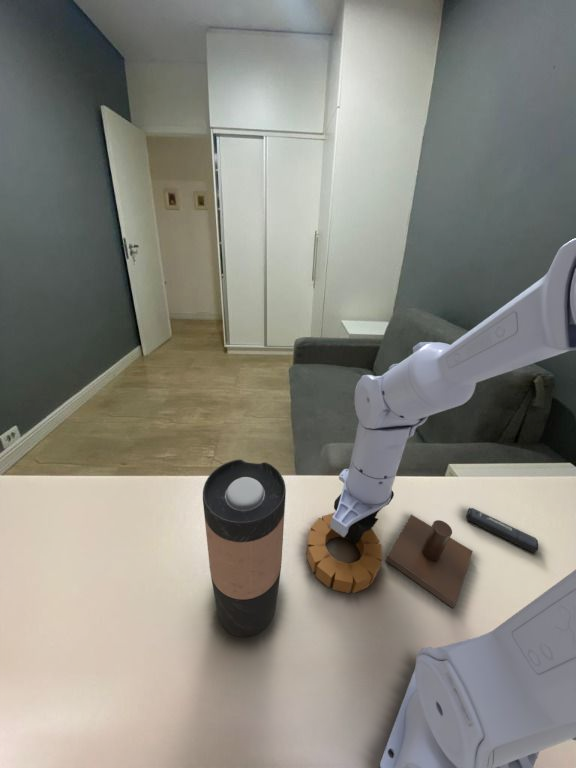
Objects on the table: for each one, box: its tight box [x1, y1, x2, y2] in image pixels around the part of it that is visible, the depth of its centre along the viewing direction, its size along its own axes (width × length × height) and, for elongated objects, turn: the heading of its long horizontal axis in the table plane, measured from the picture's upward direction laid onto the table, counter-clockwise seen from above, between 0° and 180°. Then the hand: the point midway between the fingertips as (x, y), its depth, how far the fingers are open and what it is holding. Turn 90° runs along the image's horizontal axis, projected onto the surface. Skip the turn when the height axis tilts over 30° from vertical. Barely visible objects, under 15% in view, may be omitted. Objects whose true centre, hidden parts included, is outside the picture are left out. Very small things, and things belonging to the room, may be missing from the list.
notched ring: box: [305, 512, 383, 594], centre depth 43 cm, size 10×10×2 cm
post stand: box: [385, 514, 474, 609], centre depth 42 cm, size 9×9×7 cm
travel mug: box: [202, 459, 287, 638], centre depth 33 cm, size 8×8×20 cm
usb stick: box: [465, 507, 539, 553], centre depth 48 cm, size 10×3×2 cm, turn 54°
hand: (356, 530), depth 45 cm, fingers closed on notched ring, 3 cm apart
